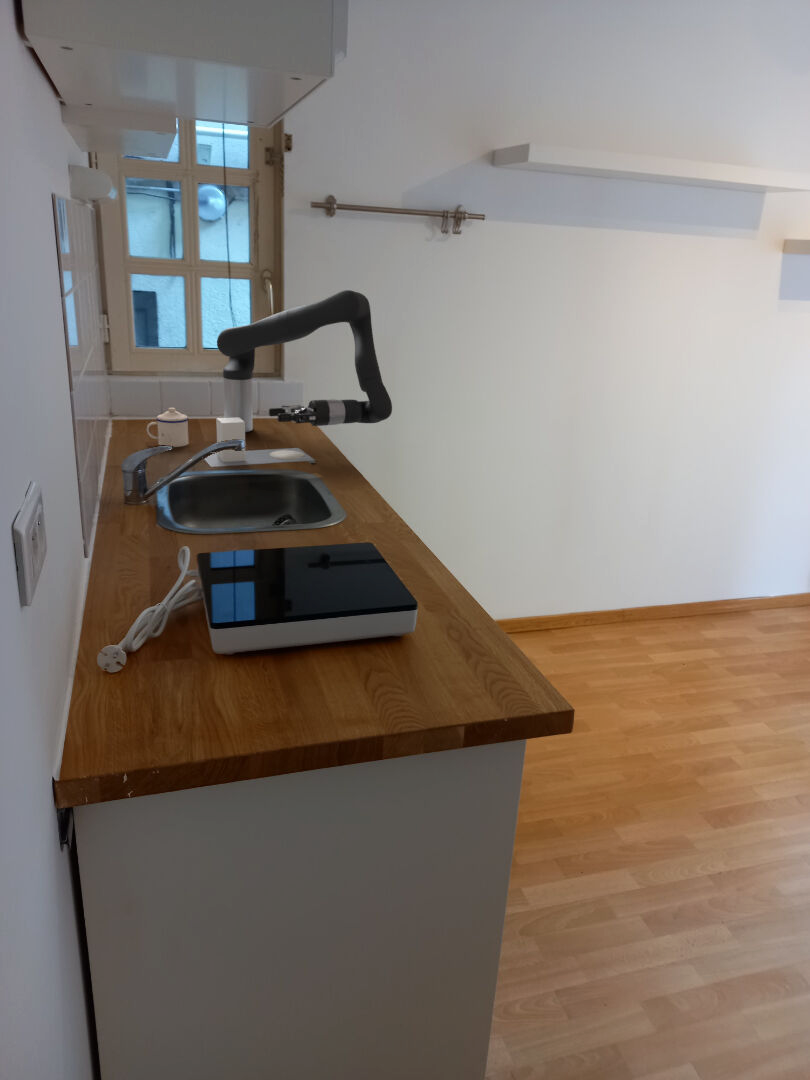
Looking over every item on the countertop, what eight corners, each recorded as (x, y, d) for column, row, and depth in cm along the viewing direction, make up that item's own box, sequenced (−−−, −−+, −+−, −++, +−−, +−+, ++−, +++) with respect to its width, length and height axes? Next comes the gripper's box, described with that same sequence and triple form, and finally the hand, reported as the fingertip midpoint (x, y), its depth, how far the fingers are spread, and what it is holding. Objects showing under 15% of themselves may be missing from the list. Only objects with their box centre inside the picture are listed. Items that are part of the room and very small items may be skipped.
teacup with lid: (190, 443, 239) (188, 405, 235) (188, 450, 231) (186, 411, 227) (149, 442, 237) (147, 404, 233) (146, 450, 229) (143, 410, 224)
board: (199, 456, 225) (198, 452, 224) (298, 451, 238) (298, 447, 237) (211, 470, 212) (211, 466, 212) (315, 463, 225) (315, 459, 225)
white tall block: (217, 456, 223) (216, 418, 219) (239, 454, 225) (238, 417, 222) (222, 461, 217) (221, 423, 214) (245, 460, 220) (244, 422, 216)
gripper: (318, 395, 234) (265, 397, 227) (335, 404, 222) (280, 406, 215) (318, 420, 237) (266, 423, 230) (335, 430, 225) (281, 433, 218)
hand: (273, 415), depth 222 cm, fingers open, 8 cm apart
